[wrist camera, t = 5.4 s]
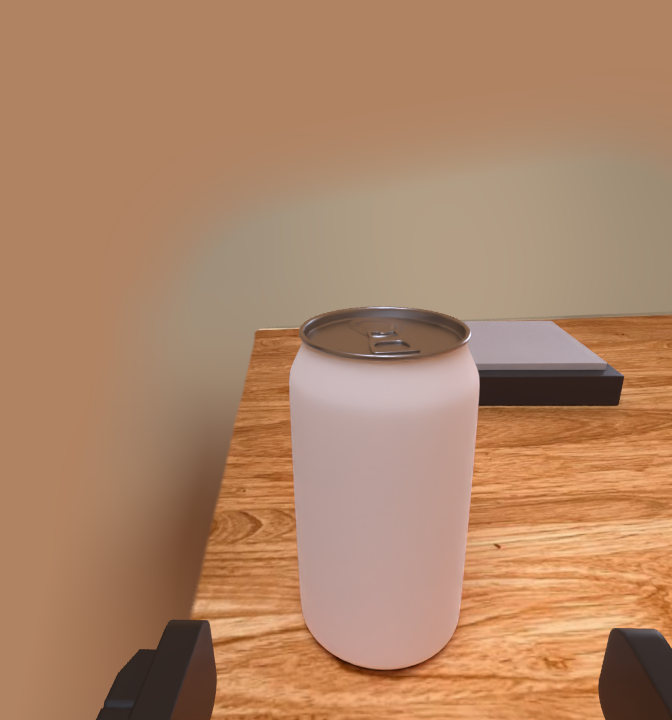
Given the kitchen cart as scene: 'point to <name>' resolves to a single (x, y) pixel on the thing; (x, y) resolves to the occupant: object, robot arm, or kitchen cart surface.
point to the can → (383, 480)
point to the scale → (538, 366)
